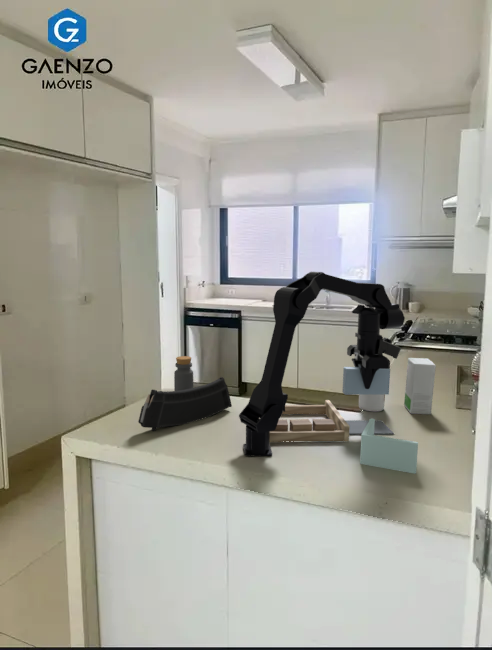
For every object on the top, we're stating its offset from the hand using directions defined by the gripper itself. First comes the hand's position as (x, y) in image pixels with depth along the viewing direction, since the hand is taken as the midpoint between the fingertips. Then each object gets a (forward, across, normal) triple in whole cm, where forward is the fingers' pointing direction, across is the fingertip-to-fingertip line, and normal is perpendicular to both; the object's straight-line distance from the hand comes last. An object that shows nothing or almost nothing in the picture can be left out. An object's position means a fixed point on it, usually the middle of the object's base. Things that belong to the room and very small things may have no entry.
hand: (365, 387), depth 130 cm
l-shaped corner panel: (+12, -20, 0) cm, 23 cm away
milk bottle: (+12, +17, -8) cm, 22 cm away
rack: (+12, +1, +18) cm, 22 cm away
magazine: (+12, +7, +48) cm, 50 cm away
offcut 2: (+12, -6, +18) cm, 22 cm away
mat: (+11, 0, 0) cm, 11 cm away
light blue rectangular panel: (+2, 0, 0) cm, 2 cm away
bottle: (+12, +22, +50) cm, 56 cm away
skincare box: (+12, +15, -22) cm, 29 cm away
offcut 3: (+12, -6, +12) cm, 18 cm away
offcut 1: (+12, -6, +24) cm, 28 cm away
